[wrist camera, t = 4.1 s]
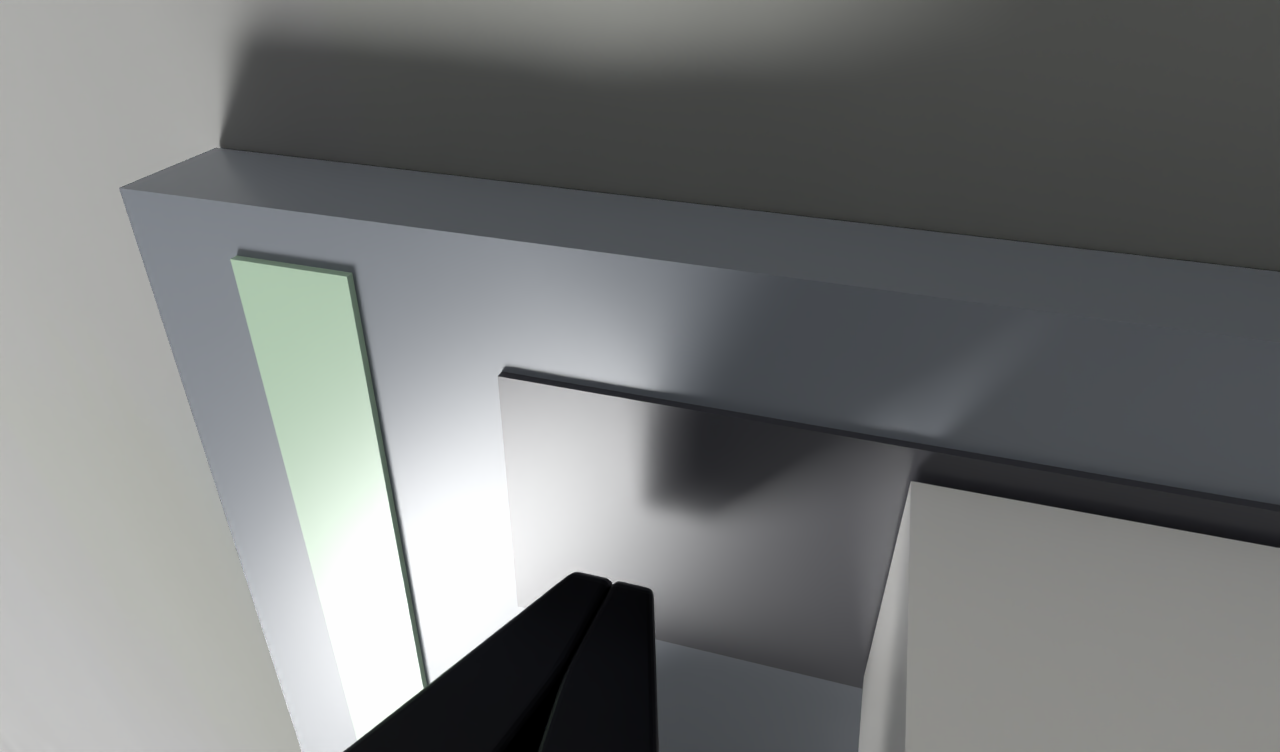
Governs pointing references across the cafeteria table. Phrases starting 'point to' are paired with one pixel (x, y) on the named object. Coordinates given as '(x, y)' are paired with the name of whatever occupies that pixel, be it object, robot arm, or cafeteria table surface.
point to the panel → (661, 418)
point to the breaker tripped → (1069, 634)
